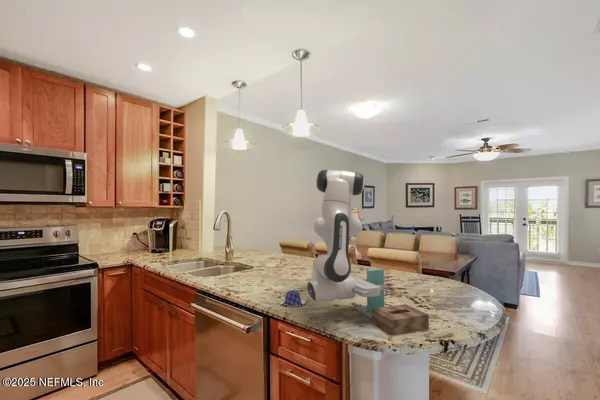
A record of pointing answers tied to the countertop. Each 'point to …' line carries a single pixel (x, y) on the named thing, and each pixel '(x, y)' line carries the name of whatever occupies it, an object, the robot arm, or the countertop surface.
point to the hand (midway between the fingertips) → (376, 283)
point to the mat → (364, 311)
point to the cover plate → (377, 278)
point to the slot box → (400, 319)
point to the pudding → (293, 298)
